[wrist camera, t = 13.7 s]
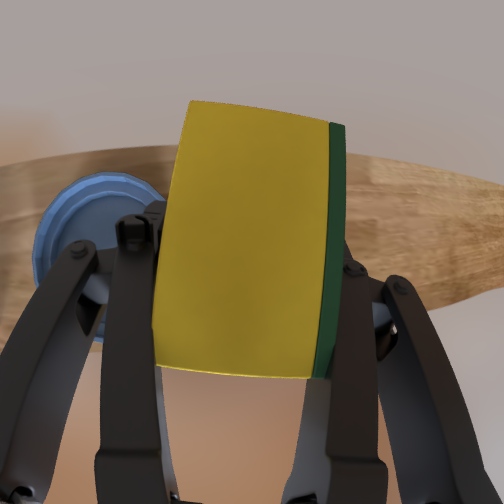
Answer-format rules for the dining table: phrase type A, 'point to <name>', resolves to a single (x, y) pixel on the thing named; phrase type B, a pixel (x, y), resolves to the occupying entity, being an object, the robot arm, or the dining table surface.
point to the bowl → (88, 218)
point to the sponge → (252, 244)
